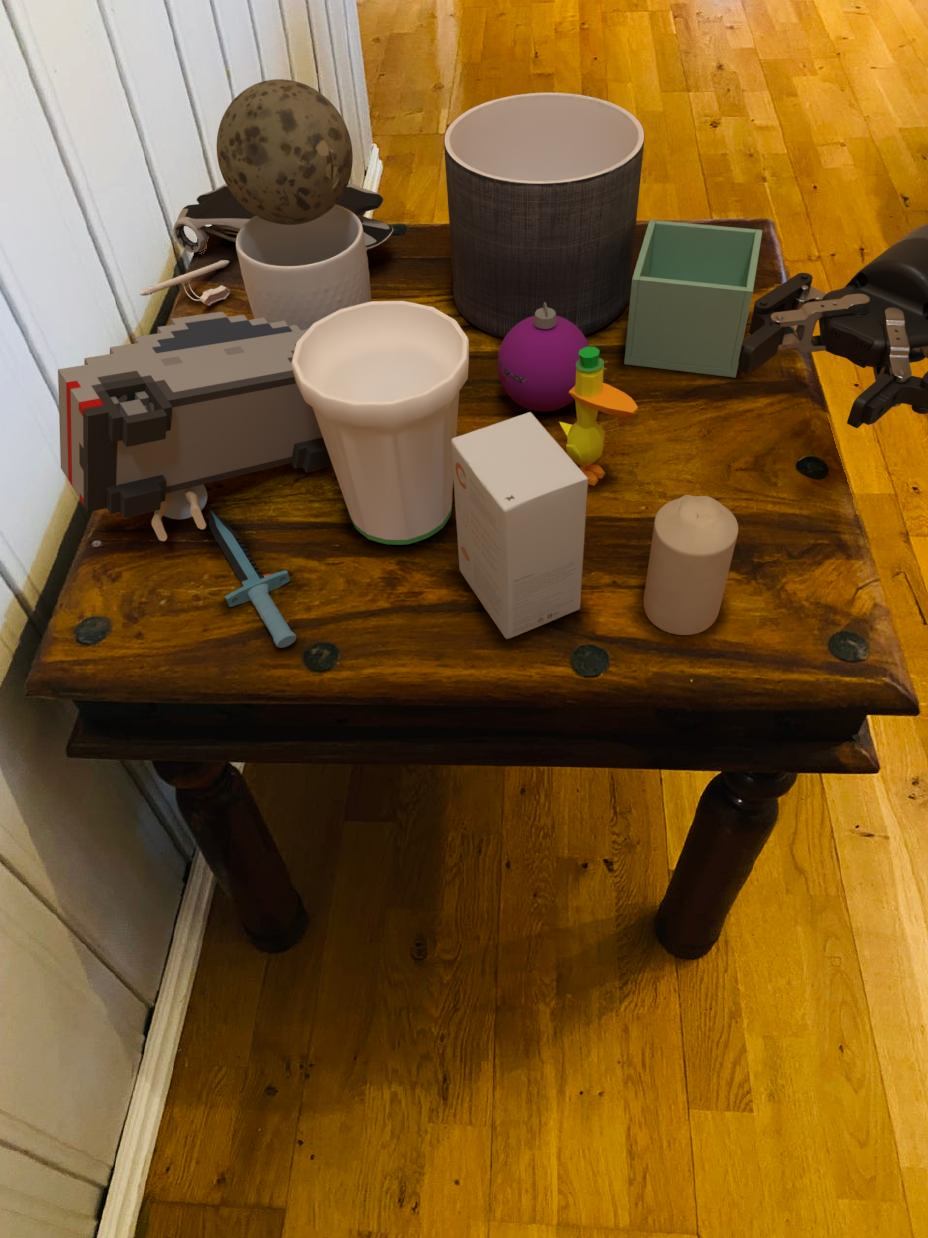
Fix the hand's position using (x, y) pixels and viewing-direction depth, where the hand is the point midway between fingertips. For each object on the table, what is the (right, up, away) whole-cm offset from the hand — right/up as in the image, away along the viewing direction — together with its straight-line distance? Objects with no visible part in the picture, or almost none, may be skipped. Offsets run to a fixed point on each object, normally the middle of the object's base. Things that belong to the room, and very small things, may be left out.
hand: (798, 388), depth 66 cm
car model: (-42, +28, +37) cm, 63 cm away
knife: (-42, -13, +9) cm, 45 cm away
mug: (-35, +10, +28) cm, 46 cm away
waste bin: (-1, +11, +27) cm, 30 cm away
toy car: (-39, -2, +9) cm, 40 cm away
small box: (-18, -13, +8) cm, 24 cm away
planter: (-15, +17, +34) cm, 41 cm away
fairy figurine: (-44, -9, +9) cm, 46 cm away
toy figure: (-12, -4, +16) cm, 20 cm away
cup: (-28, -7, +14) cm, 32 cm away
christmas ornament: (-15, +4, +23) cm, 28 cm away
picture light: (-49, +19, +34) cm, 63 cm away
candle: (-7, -15, +6) cm, 17 cm away
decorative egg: (-35, +20, +9) cm, 41 cm away
